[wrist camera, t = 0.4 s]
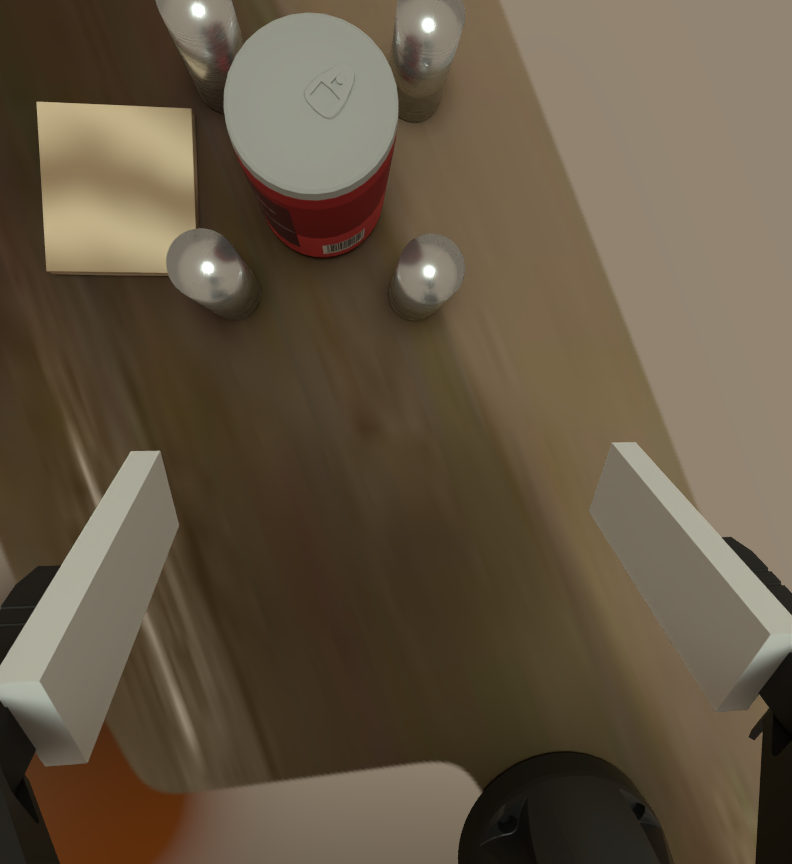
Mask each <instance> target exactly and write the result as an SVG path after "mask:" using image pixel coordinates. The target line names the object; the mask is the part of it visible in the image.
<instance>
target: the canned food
mask: <svg viewBox="0 0 792 864" xmlns="http://www.w3.org/2000/svg"><path fill="white" fill-rule="evenodd" d="M398 112H399V108H398V94H397V86H396V82H395V79H394V76H393V73H392V70H391V67H390V65H389V64H388V62H387V60H386V58H385V56H384V54H383V53H382V51H381V50H380V49H379V48H378V46H377V45H376V44H375V43H374V42H373V40H372V39H371V38H370V37H368V36H367V35H366V34H365V33H364V32H362V31H361V30H360V29H359V28H357V27H356V26H354V25H352V24H350V23H348V22H346V21H344V20H343V19H340V18H336V17H333V16H330V15H326V14H317V13H301V14H293V15H288V16H285V17H283V18H280V19H277V20H274V21H272V22H271V23H269V24H267V25H265V26H264V27H262V28H260V29H259V30H258V31H257V32H256V33H254V34H253V35H252V36H251V37H250V38H249V39H248V40H247V41H246V42H245V43H244V45H243V46H242V47H241V49H240V50H239V52H238V53H237V54H236V56H235V58H234V60H233V63H232V65H231V67H230V69H229V71H228V75H227V79H226V84H225V88H224V113H225V120H226V126H227V130H228V134H229V137H230V139H231V142H232V145H233V148H234V150H235V152H236V155H237V157H238V160H239V162H240V164H241V167H242V169H243V171H244V173H245V175H246V177H247V179H248V182H249V184H250V186H251V188H252V190H253V192H254V194H255V196H256V199H257V201H258V203H259V205H260V207H261V209H262V211H263V214H264V216H265V218H266V220H267V222H268V224H269V225H270V227H271V229H272V230H273V232H274V233H275V234H276V236H277V237H278V238H279V239H280V240H281V241H282V242H283V243H284V244H286V245H287V246H289V247H290V248H291V249H293V250H295V251H297V252H299V253H302V254H305V255H309V256H313V257H331V256H337V255H340V254H343V253H346V252H348V251H350V250H352V249H353V248H355V247H357V246H358V245H359V244H361V243H362V242H363V241H364V240H365V239H366V238H367V237H368V236H369V234H370V233H371V232H372V230H373V229H374V227H375V225H376V223H377V221H378V219H379V217H380V213H381V209H382V205H383V200H384V195H385V190H386V185H387V180H388V175H389V170H390V165H391V160H392V155H393V150H394V145H395V140H396V132H397V127H398Z"/></svg>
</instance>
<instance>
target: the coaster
mask: <svg viewBox="0 0 792 864" xmlns="http://www.w3.org/2000/svg"><path fill="white" fill-rule="evenodd" d="M37 116H38V133H39V150H40V167H41V185H42V202H43V219H44V236H45V253H46V270H47V272H50V273H52V274H68V275H141V276H169V275H168V272H167V267H166V257H167V253H168V250H169V247H170V245H171V244H172V242H173V241H174V240H175V239H176V238H177V237H178V236H179V235H181V234H182V233H184V232H186V231H188V230H191V229H199V207H198V179H197V152H196V124H195V115H194V113H193V111H192V109H187V108H164V107H142V106H120V105H98V104H76V103H54V102H37Z"/></svg>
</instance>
